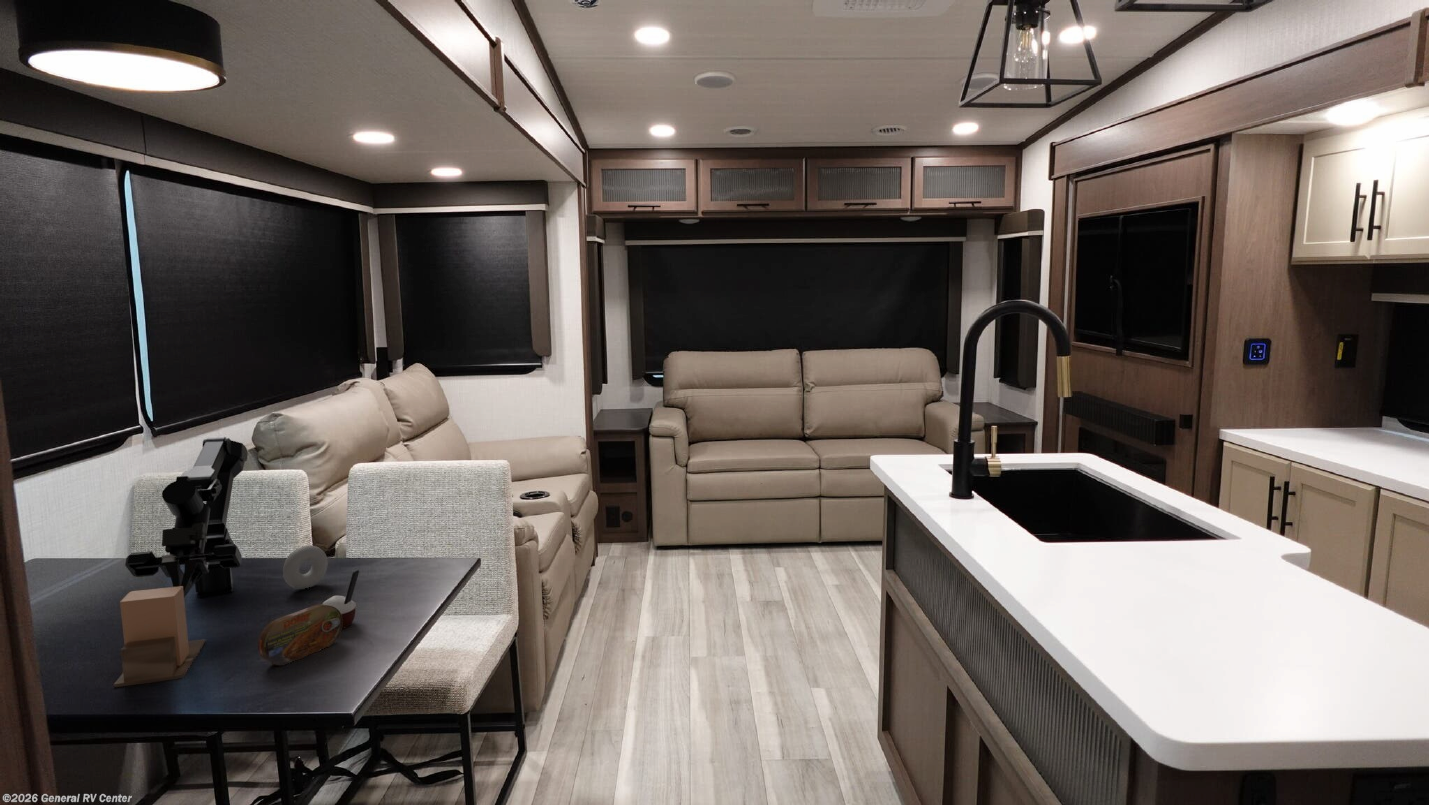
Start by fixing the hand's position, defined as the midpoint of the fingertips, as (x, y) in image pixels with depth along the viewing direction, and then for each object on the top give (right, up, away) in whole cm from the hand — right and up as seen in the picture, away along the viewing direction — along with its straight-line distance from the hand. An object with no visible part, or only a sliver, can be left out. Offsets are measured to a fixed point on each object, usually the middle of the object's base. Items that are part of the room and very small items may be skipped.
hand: (179, 600), depth 151 cm
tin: (+27, -9, -6) cm, 29 cm away
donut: (+11, -4, +26) cm, 29 cm away
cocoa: (+28, -7, +6) cm, 30 cm away
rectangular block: (+5, -9, -12) cm, 16 cm away
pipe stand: (+4, -9, -10) cm, 14 cm away
